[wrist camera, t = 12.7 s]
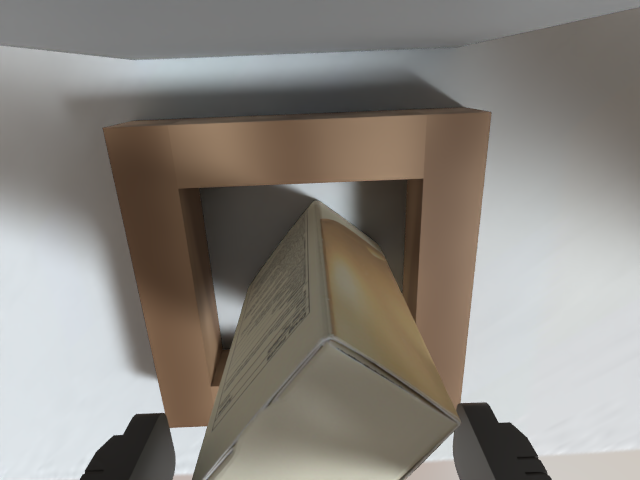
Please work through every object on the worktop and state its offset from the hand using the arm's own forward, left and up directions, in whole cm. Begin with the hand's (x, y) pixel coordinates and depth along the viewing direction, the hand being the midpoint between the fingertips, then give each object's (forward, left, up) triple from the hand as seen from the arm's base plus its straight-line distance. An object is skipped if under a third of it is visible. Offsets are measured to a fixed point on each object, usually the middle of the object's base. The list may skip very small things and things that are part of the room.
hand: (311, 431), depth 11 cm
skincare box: (0, 0, -11) cm, 11 cm away
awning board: (0, -11, -11) cm, 15 cm away
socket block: (0, 0, -11) cm, 11 cm away
